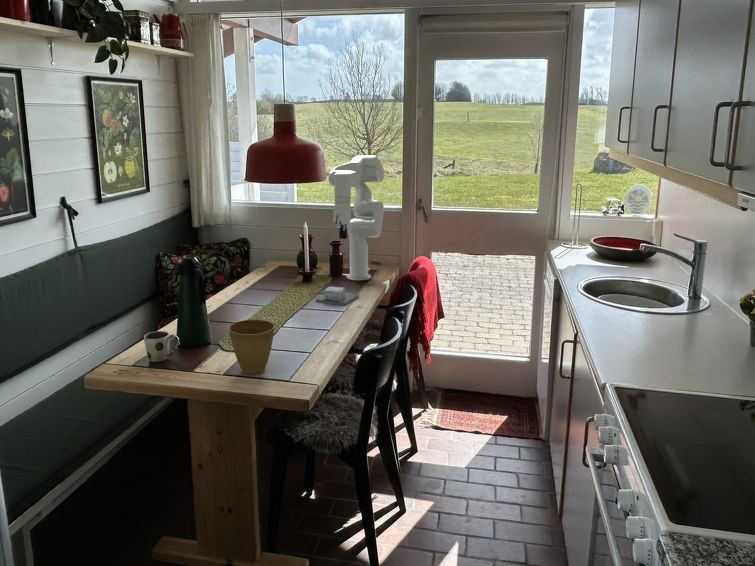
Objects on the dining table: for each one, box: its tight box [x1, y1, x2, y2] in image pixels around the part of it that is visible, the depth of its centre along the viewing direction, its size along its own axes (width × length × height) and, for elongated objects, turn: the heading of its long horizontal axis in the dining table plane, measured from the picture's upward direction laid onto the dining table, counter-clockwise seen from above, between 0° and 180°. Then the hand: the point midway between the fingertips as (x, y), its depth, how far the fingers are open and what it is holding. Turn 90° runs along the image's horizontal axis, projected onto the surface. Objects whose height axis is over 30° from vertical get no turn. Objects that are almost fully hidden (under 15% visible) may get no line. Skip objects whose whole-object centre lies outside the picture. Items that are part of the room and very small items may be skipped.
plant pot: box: [228, 319, 275, 376], centre depth 209 cm, size 15×15×16 cm
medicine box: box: [323, 286, 346, 301], centre depth 290 cm, size 8×4×9 cm
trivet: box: [315, 292, 360, 306], centre depth 293 cm, size 15×15×1 cm
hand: (343, 238), depth 295 cm, fingers closed
